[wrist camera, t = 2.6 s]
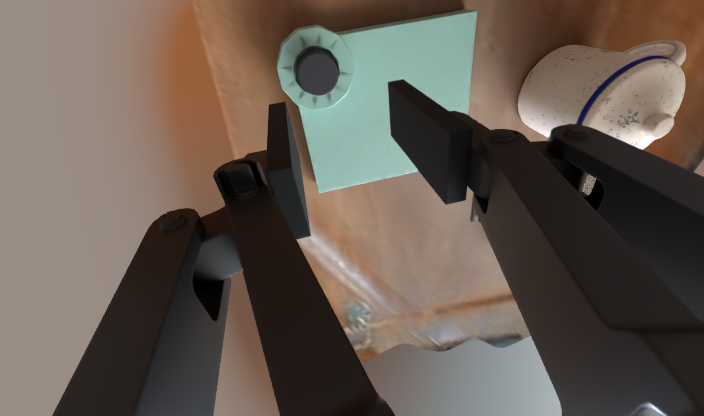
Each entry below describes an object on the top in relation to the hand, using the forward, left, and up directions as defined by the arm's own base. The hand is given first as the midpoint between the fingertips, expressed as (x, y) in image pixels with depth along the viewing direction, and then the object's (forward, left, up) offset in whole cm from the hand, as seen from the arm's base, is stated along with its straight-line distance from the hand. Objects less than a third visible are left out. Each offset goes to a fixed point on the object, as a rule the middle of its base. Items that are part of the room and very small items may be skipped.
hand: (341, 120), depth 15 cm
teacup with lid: (-26, +6, -15) cm, 31 cm away
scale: (-6, +5, -15) cm, 17 cm away
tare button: (0, 0, -12) cm, 12 cm away
